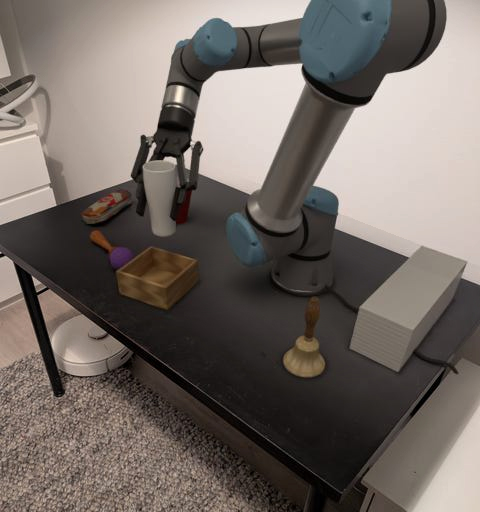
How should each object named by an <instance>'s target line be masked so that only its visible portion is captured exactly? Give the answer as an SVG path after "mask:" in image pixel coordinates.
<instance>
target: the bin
mask: <svg viewBox="0 0 480 512" xmlns="http://www.w3.org/2000/svg"><path fill="white" fill-rule="evenodd" d="M198 261H199V260H198V259H196V258H192V257H188V256H186V255H182V254H179V253H176V252H172V251H170V250H165V249H162V248H159V247H155V246H152V245H151V246H149V247H147V248H146V249H145V250H143V251H142V252H141V253H139V254H138V255H136V256H134V259H132V260H131V261H130V262H128V263H127V264H126V265H124V266H123V267H122V268H120V269H119V270H115V274H116V280H117V286H118V287H117V288H118V294H119V295H122V296H124V297H128V298H131V299H134V300H136V301H139V302H143V303H144V304H145V303H146V304H148V305H149V306H150V305H151V306H154V307H156V308H160V309H161V310H164V311H169V310H170V309H171V308H172V307H173V306H174V305H175V304H176V303H177V302H179V301H180V300H181V298H183V297H184V296H185V295H186V294H187V293H188V292H189V291H190V290H191V289H192V288H193V287H194V286H196V284H197V283H198V282H199V262H198Z"/></svg>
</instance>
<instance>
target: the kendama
mask: <svg viewBox="0 0 480 512" xmlns="http://www.w3.org/2000/svg"><path fill="white" fill-rule="evenodd" d="M89 238H90V240H91V241H92V242H93V243H95V244H96V245H98V246H100V247H102V248H103V249H105V250H106V251H108V259H109V262H110V263H109V264H110V266H112V268H113V269H114V270H115V271H117V270H119V269H120V268H122V267H123V266H124V265H126V264H127V263H128V262H130V261H131V260H132V259H134V258H135V254H134V253H133V251H132V250H131V249H129V248H127V247H124V246H112V245H111V244H110V243H109V241H108V240H107V238H106V237H105V236H104V235H103V233H102V232H101V231H100V230H94V231H92V232H91V233H90V235H89Z"/></svg>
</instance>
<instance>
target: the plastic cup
mask: <svg viewBox="0 0 480 512" xmlns="http://www.w3.org/2000/svg"><path fill="white" fill-rule="evenodd" d="M176 177H177V187H180V185H179V184H180V182H179V175H176ZM187 182H189V177H187ZM192 193H193V190H189V191H188V192H187V195H186V200H185V204H184V206H181V205H180V208H179V213H178V217H177V222H176V225H181V224H185V223H186V222H187V221H188V217H189V212H190V204H191V198H192Z"/></svg>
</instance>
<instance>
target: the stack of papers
mask: <svg viewBox="0 0 480 512" xmlns="http://www.w3.org/2000/svg"><path fill="white" fill-rule="evenodd" d="M467 264H468V260H464V259H461V258H459V257H456V256H453V255H451V254H447V253H445V252H441V251H438V250H436V249H432V248H430V247H427V246H424V245H420V246H419V248H418V249H417V250H416V251H414V253H413V254H411V255H410V256H409V257H408V259H406V260H405V261H404V262H403V264H402V265H401V266H400V267H399V268H397V269H396V270H395V272H393V273H392V274H391V275H390V276H389V277H388V278H387V279H386V280H385V281H384V282H383V283H382V284H381V285H380V286H379V287H378V288H377V289H376V290H374V292H373V293H372V294H371V295H369V297H368V298H367V299H365V301H363V303H362V304H361V305H360V306H359V308H358V309H359V312H357V316H356V320H355V325H354V328H353V332H352V337H351V339H350V344H349V349H350V350H351V351H354V352H355V353H358V354H360V355H362V356H364V357H366V358H368V359H371V360H372V361H374V362H376V363H378V364H380V365H382V366H384V367H386V368H389V369H390V370H391V371H394V372H397V373H399V372H400V371H401V369H402V368H403V367H404V365H405V364H406V363H407V361H408V360H409V359H410V357H411V356H412V354H414V352H413V351H414V349H415V348H416V349H417V348H418V347H419V345H420V344H421V343H422V341H423V340H424V339H425V337H426V336H427V335H428V333H429V332H430V331H431V329H432V328H433V326H434V325H435V324H436V323H437V321H438V320H439V318H440V317H441V316H442V314H443V313H444V312H445V310H446V309H447V308H448V306H449V305H450V303H451V302H452V301H453V299H454V297H455V294H456V291H457V289H458V286H459V284H460V281H461V279H462V276H463V274H464V272H465V269H466V267H467Z"/></svg>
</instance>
